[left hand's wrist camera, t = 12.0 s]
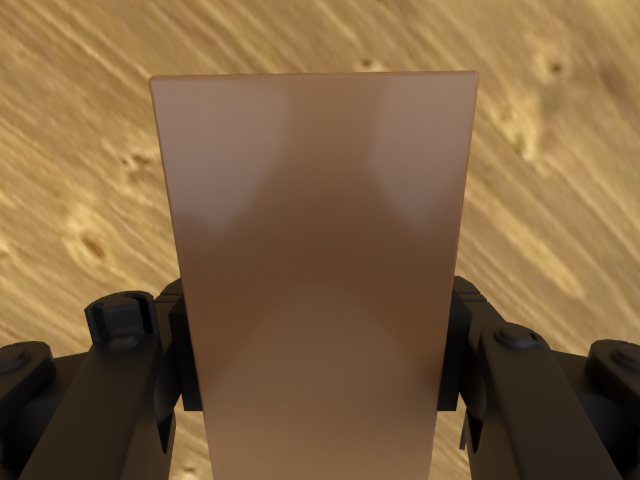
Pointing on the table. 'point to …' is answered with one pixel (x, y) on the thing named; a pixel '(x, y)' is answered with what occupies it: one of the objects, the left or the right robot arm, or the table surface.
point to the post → (317, 262)
